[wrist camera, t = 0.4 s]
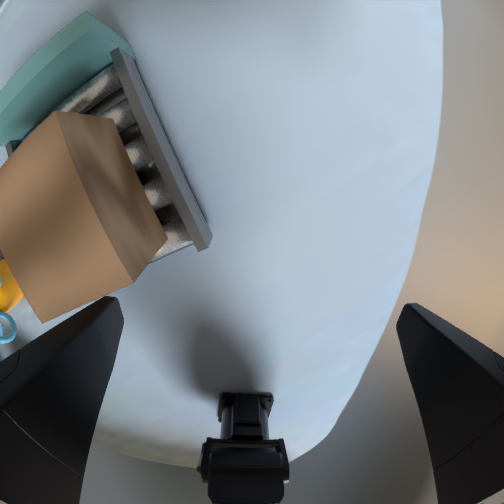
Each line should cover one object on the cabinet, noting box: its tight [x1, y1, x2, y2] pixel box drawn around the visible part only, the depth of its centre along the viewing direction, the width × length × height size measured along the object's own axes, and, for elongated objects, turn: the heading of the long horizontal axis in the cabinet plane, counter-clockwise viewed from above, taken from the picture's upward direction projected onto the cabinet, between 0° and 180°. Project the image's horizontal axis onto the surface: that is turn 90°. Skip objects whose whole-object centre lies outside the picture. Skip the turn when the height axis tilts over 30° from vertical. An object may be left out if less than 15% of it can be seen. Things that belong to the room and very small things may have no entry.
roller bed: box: [6, 47, 213, 264], centre depth 19 cm, size 17×14×4 cm
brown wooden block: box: [0, 111, 168, 324], centre depth 15 cm, size 10×9×7 cm
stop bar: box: [0, 11, 136, 146], centre depth 14 cm, size 2×14×8 cm, turn 113°
